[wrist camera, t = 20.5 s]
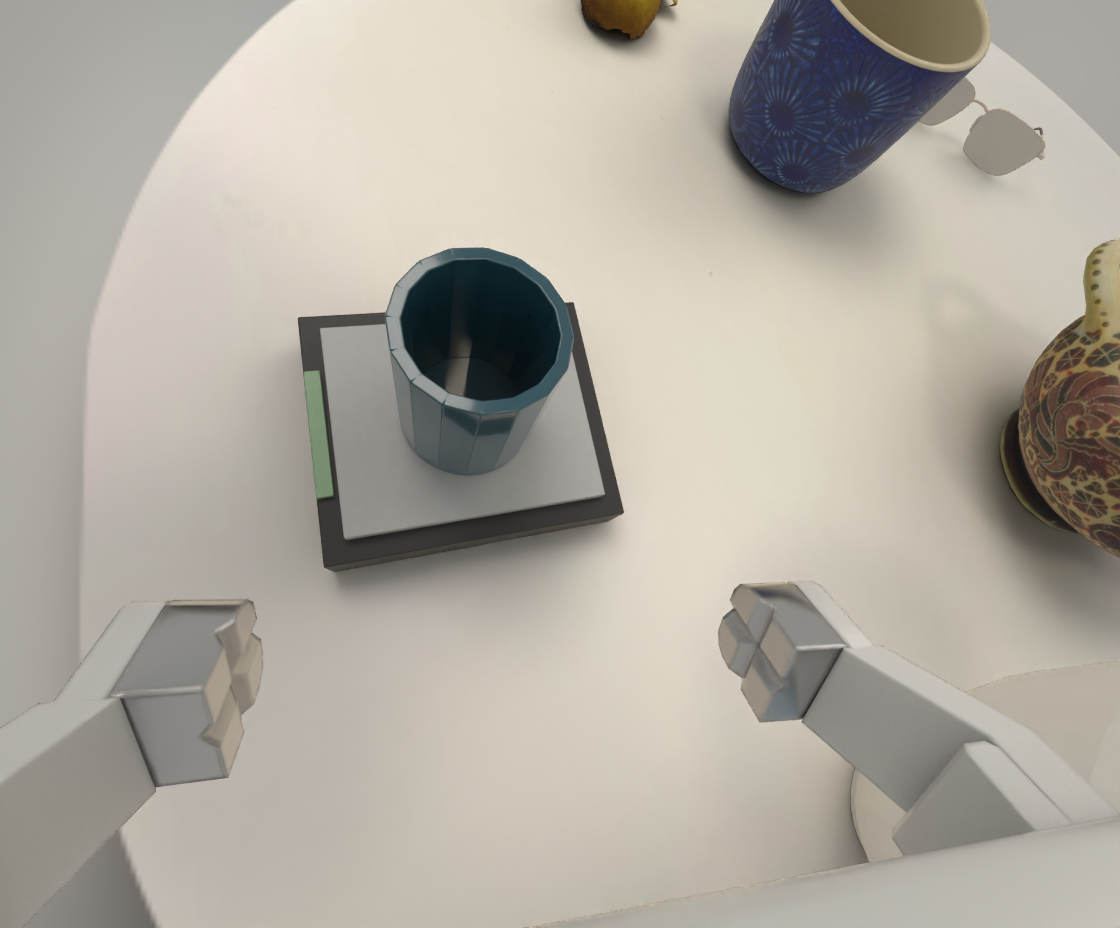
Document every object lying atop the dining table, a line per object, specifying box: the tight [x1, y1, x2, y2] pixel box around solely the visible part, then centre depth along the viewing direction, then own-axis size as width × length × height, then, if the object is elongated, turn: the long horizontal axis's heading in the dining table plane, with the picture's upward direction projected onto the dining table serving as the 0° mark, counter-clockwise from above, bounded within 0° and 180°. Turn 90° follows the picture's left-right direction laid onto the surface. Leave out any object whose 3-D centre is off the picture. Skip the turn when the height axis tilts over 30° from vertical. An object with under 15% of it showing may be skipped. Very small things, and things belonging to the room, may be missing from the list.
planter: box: [729, 0, 991, 193], centre depth 35 cm, size 12×12×11 cm
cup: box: [385, 248, 574, 476], centre depth 21 cm, size 6×6×8 cm
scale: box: [298, 302, 624, 572], centre depth 26 cm, size 14×12×3 cm
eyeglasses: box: [919, 77, 1045, 176], centre depth 45 cm, size 14×8×4 cm, turn 58°
